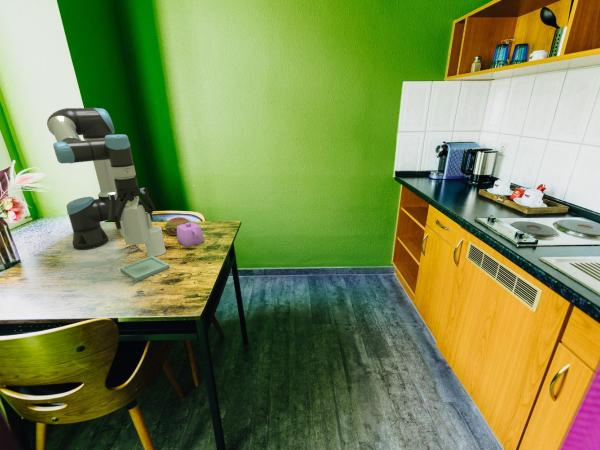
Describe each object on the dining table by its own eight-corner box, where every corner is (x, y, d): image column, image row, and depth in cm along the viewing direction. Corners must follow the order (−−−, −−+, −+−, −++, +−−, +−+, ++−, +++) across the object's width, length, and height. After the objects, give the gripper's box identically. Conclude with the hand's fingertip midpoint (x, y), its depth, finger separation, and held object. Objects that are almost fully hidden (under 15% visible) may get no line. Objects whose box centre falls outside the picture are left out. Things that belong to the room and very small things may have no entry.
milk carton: (133, 238, 127) (123, 194, 121) (150, 237, 128) (142, 193, 121) (125, 245, 121) (114, 199, 114) (144, 244, 121) (134, 198, 115)
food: (168, 239, 160) (166, 224, 157) (163, 230, 171) (161, 217, 169) (195, 233, 167) (193, 219, 164) (189, 226, 178) (187, 213, 175)
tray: (120, 271, 128) (119, 267, 127) (153, 259, 138) (152, 255, 137) (136, 282, 119) (135, 278, 119) (169, 268, 130) (168, 264, 129)
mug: (140, 260, 137) (135, 235, 133) (137, 253, 144) (132, 230, 139) (168, 253, 144) (163, 229, 139) (163, 247, 150) (159, 224, 146)
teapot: (173, 239, 159) (170, 221, 156) (192, 234, 166) (189, 216, 162) (188, 250, 147) (185, 230, 143) (208, 243, 154) (205, 224, 150)
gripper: (96, 183, 104) (111, 243, 112) (158, 173, 121) (168, 225, 129) (87, 181, 109) (102, 238, 116) (149, 171, 125) (159, 222, 133)
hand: (137, 231), depth 123 cm, fingers closed on milk carton, 10 cm apart
